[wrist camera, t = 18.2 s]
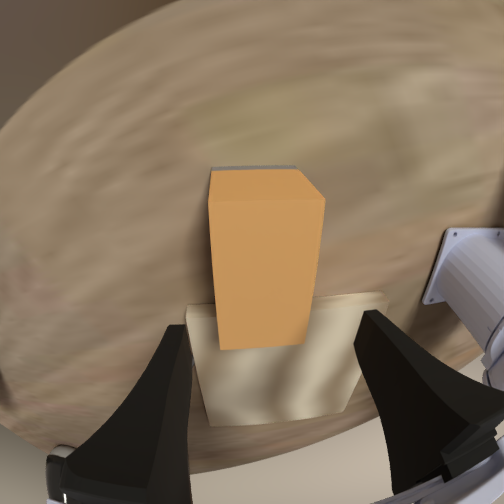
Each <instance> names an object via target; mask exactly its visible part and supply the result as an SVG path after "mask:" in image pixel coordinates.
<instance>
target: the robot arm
mask: <svg viewBox="0 0 504 504" xmlns="http://www.w3.org/2000/svg"><path fill="white" fill-rule="evenodd" d="M444 301H446V302H447V303H448V305H449V306H450V307H451V308H452V310H453V311H454V312H455V313H456V315H457V316H458V317H459V319H460V320H461V321H462V322H463V324H464V325H465V326H466V328H467V329H468V330H469V332H470V333H471V334H472V336H473V337H474V338H475V340H476V341H477V343H478V344H479V345H480V347H481V348H482V350H483V351H484V352H485V355H484V356H483V358H482V359H481V361H482V363H483V365H484V366H485V368H486V369H485V370H484V373H483V377H482V380H483V384H482V383H480V382H477V381H475V380H472V379H471V378H469V377H467V376H465V375H463V374H461V373H459V372H457V371H455V370H454V369H452V368H450V367H449V366H447V365H446V364H444V363H443V362H441V361H439V360H438V359H437V358H435V357H434V356H432V355H431V354H430V353H428V352H427V351H426V350H424V349H423V348H422V347H420V346H419V345H418V344H417V343H416V342H414V341H413V340H412V339H411V338H410V337H408V336H407V335H406V334H405V333H404V332H403V331H401V330H400V329H399V328H398V327H397V326H396V325H395V324H393V323H392V322H391V321H390V320H389V319H388V318H387V317H385V316H384V315H383V314H382V313H381V312H379V311H378V310H377V309H374V310H366V311H364V312H363V315H362V318H361V322H360V325H359V328H358V331H357V334H356V337H355V340H354V343H353V346H354V349H355V353H356V357H357V360H358V363H359V366H360V369H361V371H362V373H363V376H364V378H365V380H366V383H367V385H368V387H369V390H370V392H371V394H372V397H373V399H374V402H375V404H376V407H377V409H378V412H379V415H380V419H381V423H382V427H383V431H384V435H385V440H386V444H387V449H388V456H389V461H390V470H391V481H392V491H393V494H394V496H392V497H389V498H386V499H383V500H380V501H377V502H374V503H371V504H412V503H414V502H415V503H414V504H491V503H492V502H494V501H495V500H496V499H497V498H498V497H499V496H500V495H502V494H503V493H504V435H503V436H502V437H500V438H499V439H498V440H497V441H496V440H495V438H494V436H496V435H497V432H496V430H495V427H497V426H498V424H500V423H501V422H502V421H503V420H504V228H448V229H447V230H446V232H445V235H444V238H443V242H442V245H441V248H440V251H439V255H438V258H437V261H436V264H435V267H434V269H433V272H432V275H431V278H430V281H429V283H428V286H427V289H426V291H425V294H424V296H423V299H422V302H423V304H424V305H428V304H433V303H439V302H444ZM191 388H192V355H191V351H190V346H189V341H188V336H187V331H186V326H185V324H182V325H169V326H168V327H167V329H166V331H165V334H164V336H163V338H162V340H161V342H160V344H159V346H158V348H157V350H156V352H155V353H154V355H153V357H152V359H151V361H150V362H149V364H148V366H147V368H146V369H145V371H144V372H143V374H142V376H141V377H140V379H139V380H138V382H137V383H136V385H135V386H134V388H133V389H132V391H131V392H130V393H129V395H128V396H127V397H126V399H125V400H124V401H123V403H122V404H121V405H120V406H119V408H118V409H117V410H116V411H115V412H114V413H113V415H112V416H111V417H110V418H109V419H108V420H107V421H106V422H105V423H104V424H103V425H102V426H101V427H100V428H99V429H98V430H97V431H96V432H95V433H94V434H93V435H92V436H91V437H90V438H89V439H88V440H87V441H86V442H84V443H83V444H82V445H81V446H79V447H78V448H77V449H76V450H74V451H73V452H72V453H71V454H69V455H68V456H67V457H66V459H65V462H64V465H63V468H62V473H61V479H60V485H59V489H60V490H61V492H62V493H64V494H66V495H67V496H69V497H71V498H73V499H75V500H77V501H79V502H81V503H82V504H191V498H190V487H189V474H188V455H187V427H188V417H189V407H190V397H191ZM46 504H65V503H62V502H59V501H56V500H53V499H50V498H48V499H47V503H46Z"/></svg>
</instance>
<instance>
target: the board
mask: <svg viewBox="0 0 504 504" xmlns="http://www.w3.org/2000/svg"><path fill="white" fill-rule="evenodd" d="M388 304H389V300H388V299H387V297H386V296H385V294H384V293H383V291H374V292H365V293H355V294H345V295H334V296H323V297H312V304H311V310H310V316H309V321H308V327H307V333H306V338H305V344H297V345H287V346H276V347H263V348H249V349H233V350H220V342H219V333H218V323H217V312H216V304H193V305H187V312H186V321H187V327H188V332H189V337H190V342H191V347H192V352H193V357H194V361H195V366H196V370H197V375H198V379H199V384H200V388H201V392H202V396H203V400H204V405H205V409H206V413H207V416H208V420H209V424H210V427H221V426H241V425H255V424H266V423H276V422H284V421H292V420H299V419H306V418H313V417H319V416H324V415H330V414H335V413H340V412H343V411H344V409H345V407H346V405H347V403H348V401H349V399H350V396H351V394H352V392H353V390H354V388H355V386H356V384H357V382H358V379H359V377H360V375H361V373H362V371H361V369H360V366H359V363H358V360H357V357H356V353H355V349H354V346H353V343H354V340H355V337H356V334H357V331H358V328H359V325H360V322H361V318H362V315H363V312H364V311H366V310H374V309H377V310H378V311H379V312H381V313H382V314H383V315H384V316H385V313H386V310H387V307H388Z"/></svg>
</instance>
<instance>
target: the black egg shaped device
mask: <svg viewBox="0 0 504 504" xmlns="http://www.w3.org/2000/svg"><path fill="white" fill-rule="evenodd" d="M74 450H76V448H73V447H70V446H57V447H55V448H54V449H53V450H52V451H51V452H50V454H49V455H48V456H47V459H46V484H47V490H48V495H49V498H50V499H53V500H56V501H59V502H62V503H65V504H82V503H81V502H79V501H77V500H75V499H73V498H71V497H69V496H67V495H66V494H64V493H62V492H61V490H60V489H59V485H60V479H61V473H62V468H63V465H64V462H65V459H66V457H67V456H68V455H69V454H71V453H72V452H73V451H74Z"/></svg>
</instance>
